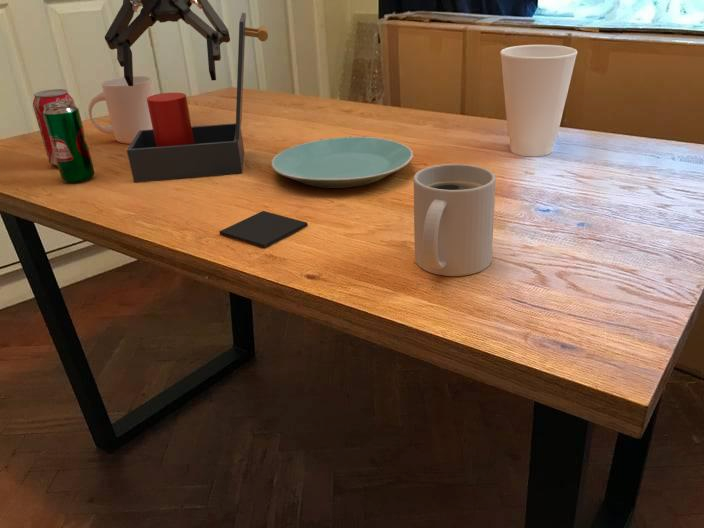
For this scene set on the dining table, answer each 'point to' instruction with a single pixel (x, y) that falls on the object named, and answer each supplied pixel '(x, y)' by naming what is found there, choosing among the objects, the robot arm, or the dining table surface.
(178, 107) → the red cylinder
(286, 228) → the rubber mat
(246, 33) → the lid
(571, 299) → the dining table surface
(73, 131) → the soda can
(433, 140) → the dining table surface
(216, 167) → the dark grey open box
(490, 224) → the mug
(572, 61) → the cup
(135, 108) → the mug
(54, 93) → the beverage can
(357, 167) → the plate
